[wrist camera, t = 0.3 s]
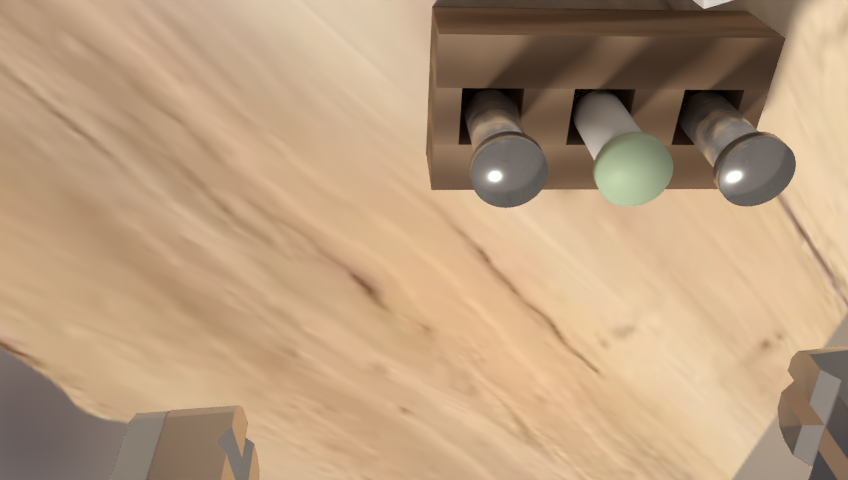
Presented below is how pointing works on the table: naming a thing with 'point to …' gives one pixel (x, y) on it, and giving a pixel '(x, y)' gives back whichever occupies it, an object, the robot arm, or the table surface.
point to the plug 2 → (737, 150)
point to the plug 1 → (502, 152)
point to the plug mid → (621, 151)
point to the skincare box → (710, 3)
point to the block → (591, 79)
